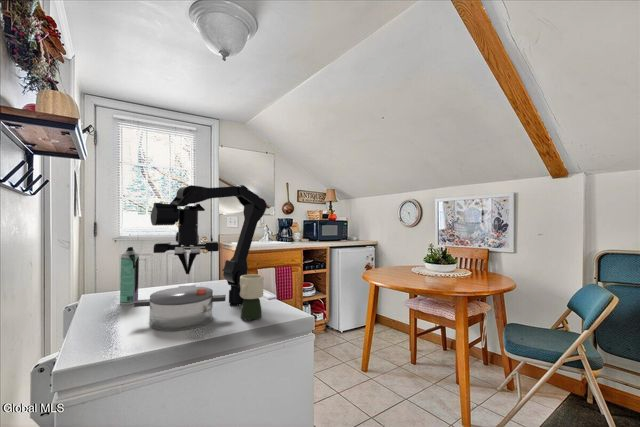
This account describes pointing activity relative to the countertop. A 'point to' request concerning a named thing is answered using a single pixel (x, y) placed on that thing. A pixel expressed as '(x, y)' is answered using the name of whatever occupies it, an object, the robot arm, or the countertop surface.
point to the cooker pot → (180, 314)
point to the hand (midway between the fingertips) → (187, 274)
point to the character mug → (251, 295)
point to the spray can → (129, 277)
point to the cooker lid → (181, 295)
